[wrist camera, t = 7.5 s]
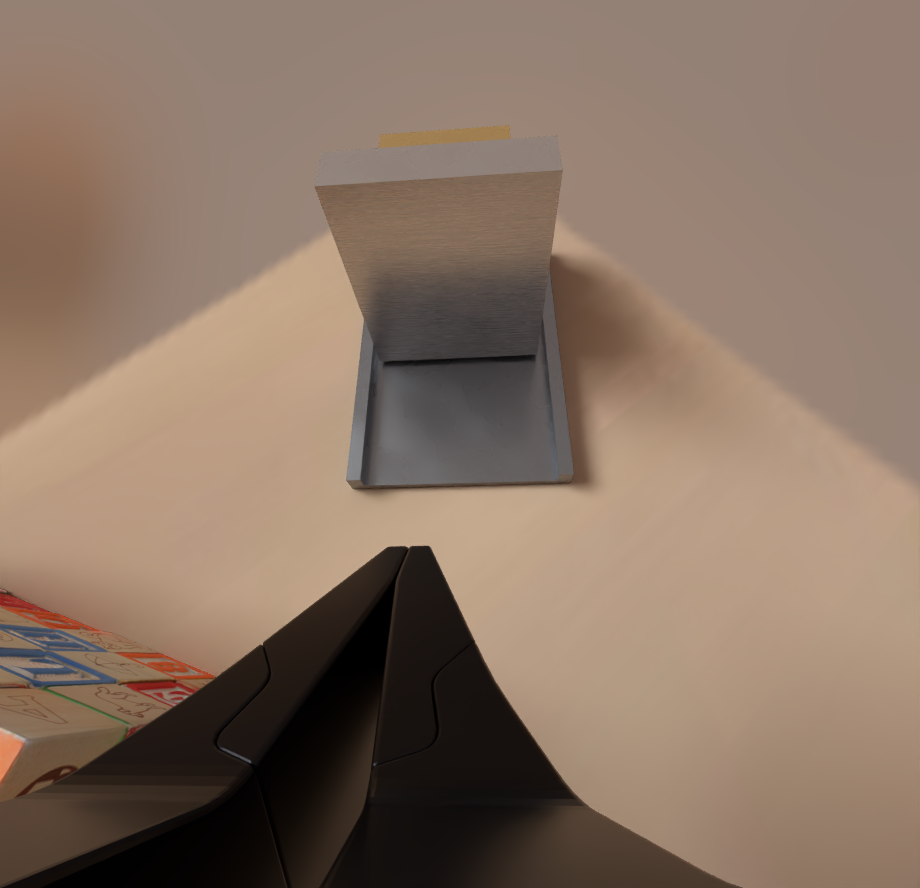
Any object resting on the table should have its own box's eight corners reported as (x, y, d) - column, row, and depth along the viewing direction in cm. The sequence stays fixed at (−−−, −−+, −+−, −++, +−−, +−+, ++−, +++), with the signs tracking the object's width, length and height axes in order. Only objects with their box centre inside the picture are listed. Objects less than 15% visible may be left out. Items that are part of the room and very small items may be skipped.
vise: (570, 482, 23) (590, 434, 19) (352, 488, 24) (316, 443, 19) (543, 252, 30) (553, 174, 26) (376, 262, 31) (354, 187, 26)
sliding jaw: (537, 354, 26) (562, 170, 16) (379, 361, 27) (314, 186, 17) (534, 326, 27) (557, 135, 17) (382, 333, 27) (321, 152, 18)
